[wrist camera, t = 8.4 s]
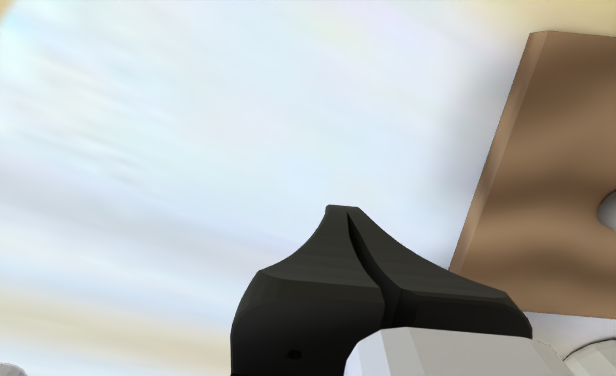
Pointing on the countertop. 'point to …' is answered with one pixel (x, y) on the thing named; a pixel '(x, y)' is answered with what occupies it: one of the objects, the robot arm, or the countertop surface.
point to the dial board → (550, 183)
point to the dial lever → (608, 212)
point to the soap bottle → (594, 360)
